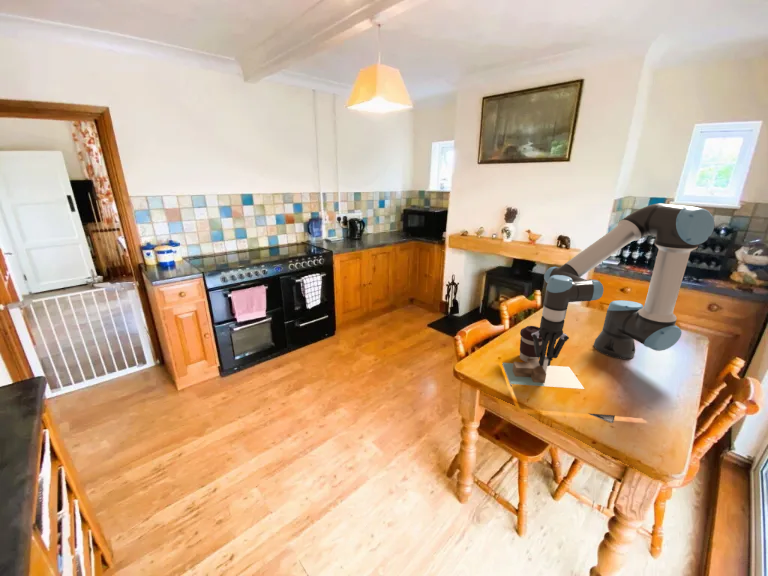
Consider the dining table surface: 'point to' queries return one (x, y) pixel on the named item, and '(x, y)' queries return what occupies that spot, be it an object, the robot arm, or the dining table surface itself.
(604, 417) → the smartphone
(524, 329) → the coffee cup
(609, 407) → the dining table surface
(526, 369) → the t block
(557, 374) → the board
